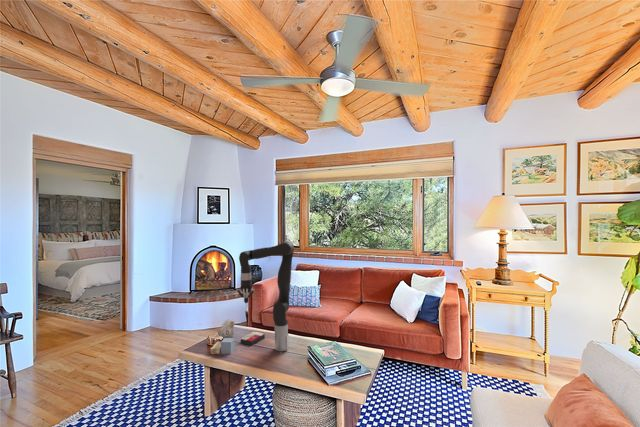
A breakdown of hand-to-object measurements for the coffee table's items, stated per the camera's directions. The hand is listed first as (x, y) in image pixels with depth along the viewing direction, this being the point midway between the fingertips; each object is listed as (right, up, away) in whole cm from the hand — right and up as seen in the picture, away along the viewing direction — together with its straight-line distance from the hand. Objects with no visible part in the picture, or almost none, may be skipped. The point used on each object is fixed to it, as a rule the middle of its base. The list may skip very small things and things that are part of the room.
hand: (246, 302), depth 216 cm
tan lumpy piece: (-18, -31, -7) cm, 37 cm away
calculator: (+3, -32, +9) cm, 33 cm away
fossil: (-19, -32, +13) cm, 39 cm away
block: (-11, -31, -9) cm, 34 cm away
